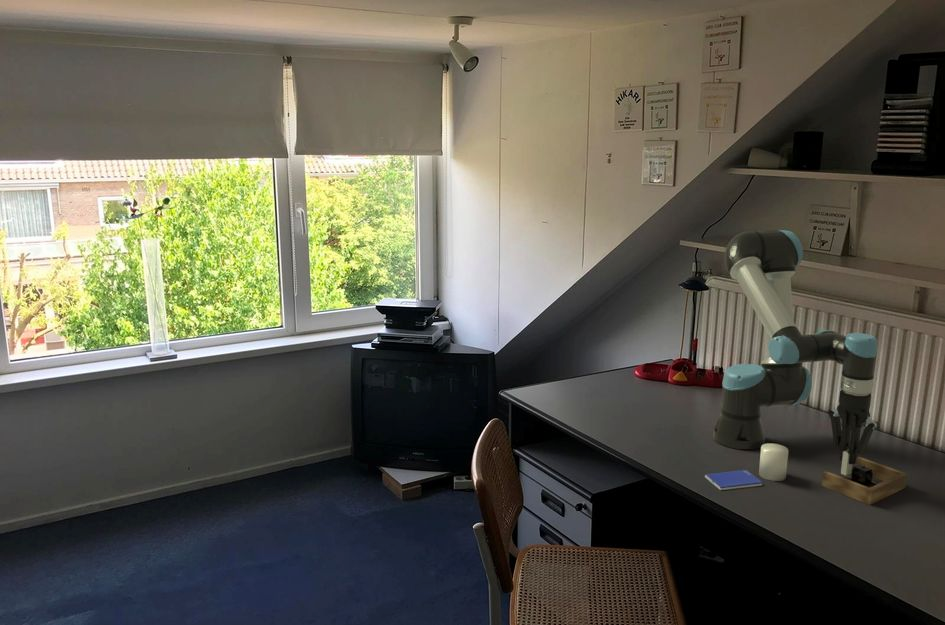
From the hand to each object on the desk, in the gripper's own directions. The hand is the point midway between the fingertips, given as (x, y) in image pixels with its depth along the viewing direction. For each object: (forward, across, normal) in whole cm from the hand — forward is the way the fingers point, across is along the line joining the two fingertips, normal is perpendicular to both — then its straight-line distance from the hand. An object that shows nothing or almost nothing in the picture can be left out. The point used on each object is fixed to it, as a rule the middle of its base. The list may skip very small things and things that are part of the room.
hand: (846, 473), depth 205 cm
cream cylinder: (+2, -13, -14) cm, 19 cm away
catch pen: (+2, +4, 0) cm, 5 cm away
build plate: (+3, +3, +3) cm, 5 cm away
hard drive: (+3, -17, -26) cm, 31 cm away
